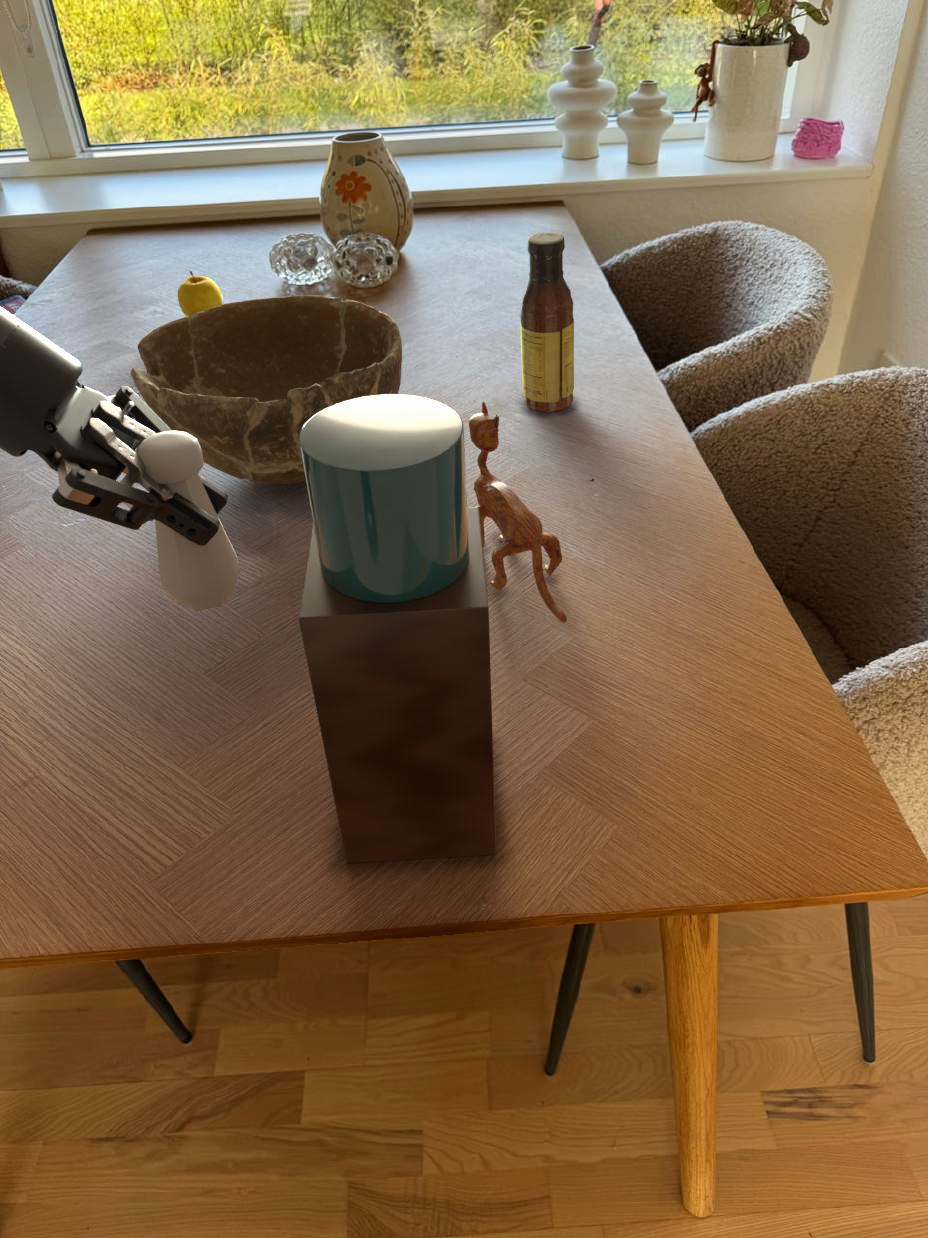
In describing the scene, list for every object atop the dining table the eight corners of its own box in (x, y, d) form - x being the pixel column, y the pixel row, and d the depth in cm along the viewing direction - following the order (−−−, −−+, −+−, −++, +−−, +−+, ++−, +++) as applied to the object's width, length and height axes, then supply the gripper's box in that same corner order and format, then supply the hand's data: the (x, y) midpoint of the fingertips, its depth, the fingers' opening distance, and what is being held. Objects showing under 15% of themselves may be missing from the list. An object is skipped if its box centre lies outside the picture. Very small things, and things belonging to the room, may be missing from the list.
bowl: (149, 550, 92) (106, 412, 82) (174, 426, 112) (142, 305, 103) (425, 518, 94) (414, 380, 85) (400, 403, 115) (389, 282, 105)
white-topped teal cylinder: (472, 598, 49) (466, 465, 44) (314, 608, 49) (290, 475, 44) (464, 491, 57) (458, 369, 52) (329, 498, 57) (310, 377, 52)
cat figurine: (598, 622, 80) (607, 484, 71) (530, 644, 78) (531, 505, 69) (507, 521, 93) (506, 395, 84) (447, 538, 91) (440, 410, 82)
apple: (195, 317, 141) (183, 264, 136) (234, 319, 140) (224, 265, 135) (177, 334, 136) (164, 279, 131) (217, 335, 135) (206, 280, 130)
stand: (346, 863, 61) (298, 618, 48) (354, 752, 69) (314, 515, 56) (496, 855, 61) (488, 607, 48) (487, 745, 69) (478, 505, 56)
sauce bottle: (558, 388, 116) (562, 223, 104) (582, 408, 112) (590, 238, 99) (511, 399, 115) (510, 233, 102) (534, 420, 110) (535, 248, 98)
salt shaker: (184, 570, 72) (143, 418, 64) (254, 574, 72) (221, 420, 64) (155, 616, 68) (106, 458, 60) (229, 621, 67) (190, 462, 59)
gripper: (-33, 370, 51) (232, 543, 59) (47, 284, 62) (260, 439, 70) (-90, 461, 54) (168, 613, 62) (-5, 364, 65) (205, 504, 73)
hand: (216, 520), depth 66 cm, fingers closed on salt shaker, 3 cm apart
